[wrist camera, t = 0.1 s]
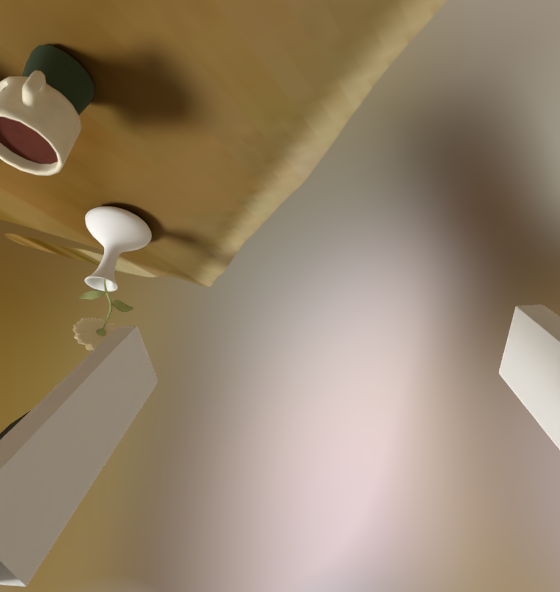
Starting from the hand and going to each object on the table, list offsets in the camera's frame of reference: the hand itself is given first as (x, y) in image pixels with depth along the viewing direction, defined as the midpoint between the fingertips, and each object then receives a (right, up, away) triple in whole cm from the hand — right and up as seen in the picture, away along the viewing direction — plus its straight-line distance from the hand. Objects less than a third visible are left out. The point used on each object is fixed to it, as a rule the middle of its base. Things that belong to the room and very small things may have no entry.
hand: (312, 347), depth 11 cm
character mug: (-26, +28, +25) cm, 46 cm away
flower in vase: (-31, +16, +48) cm, 60 cm away
